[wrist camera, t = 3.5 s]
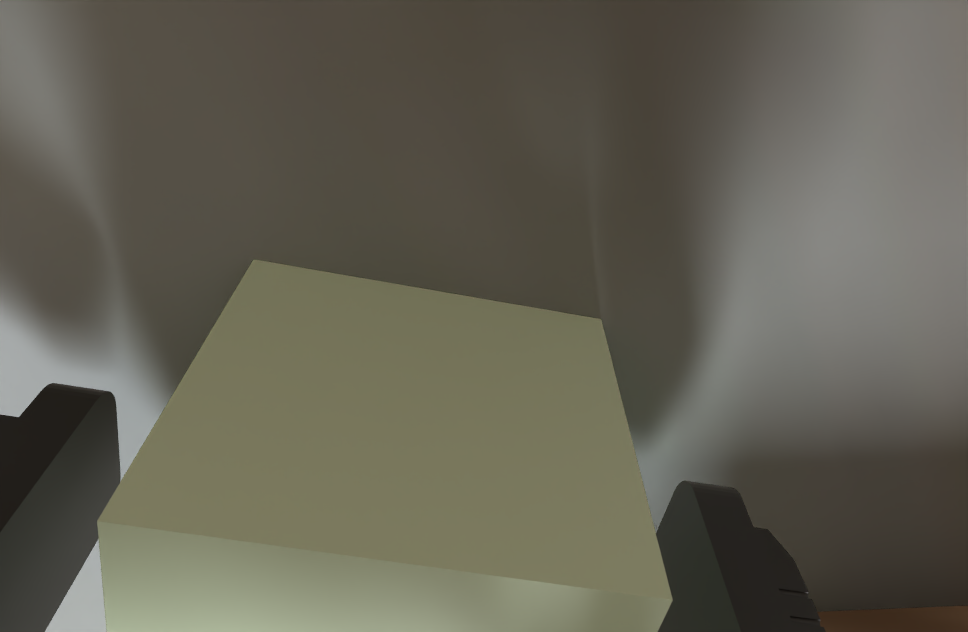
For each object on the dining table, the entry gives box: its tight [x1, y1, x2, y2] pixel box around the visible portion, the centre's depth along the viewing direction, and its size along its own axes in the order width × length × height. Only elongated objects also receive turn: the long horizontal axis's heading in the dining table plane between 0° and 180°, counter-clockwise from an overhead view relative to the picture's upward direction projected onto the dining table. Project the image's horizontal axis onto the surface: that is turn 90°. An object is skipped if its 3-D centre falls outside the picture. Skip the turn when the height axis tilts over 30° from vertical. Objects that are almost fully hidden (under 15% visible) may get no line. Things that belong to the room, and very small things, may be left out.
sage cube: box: [97, 259, 673, 632], centre depth 10 cm, size 5×5×5 cm
